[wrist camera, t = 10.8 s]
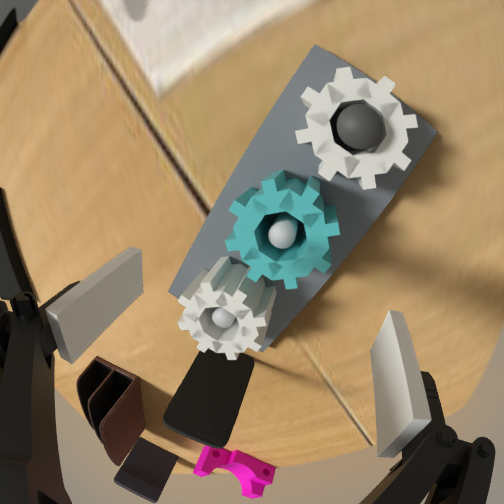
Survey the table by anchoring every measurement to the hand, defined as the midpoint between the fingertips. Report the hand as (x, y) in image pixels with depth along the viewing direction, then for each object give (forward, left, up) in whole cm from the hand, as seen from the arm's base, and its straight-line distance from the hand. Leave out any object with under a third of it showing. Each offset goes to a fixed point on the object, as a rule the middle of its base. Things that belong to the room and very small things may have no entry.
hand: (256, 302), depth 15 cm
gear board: (0, 0, -17) cm, 17 cm away
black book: (+37, -46, -18) cm, 62 cm away
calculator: (+66, +7, -17) cm, 69 cm away
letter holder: (+50, -7, -18) cm, 54 cm away
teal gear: (0, 0, -16) cm, 16 cm away
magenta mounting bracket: (+49, +21, -18) cm, 56 cm away
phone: (+20, +4, -17) cm, 27 cm away
